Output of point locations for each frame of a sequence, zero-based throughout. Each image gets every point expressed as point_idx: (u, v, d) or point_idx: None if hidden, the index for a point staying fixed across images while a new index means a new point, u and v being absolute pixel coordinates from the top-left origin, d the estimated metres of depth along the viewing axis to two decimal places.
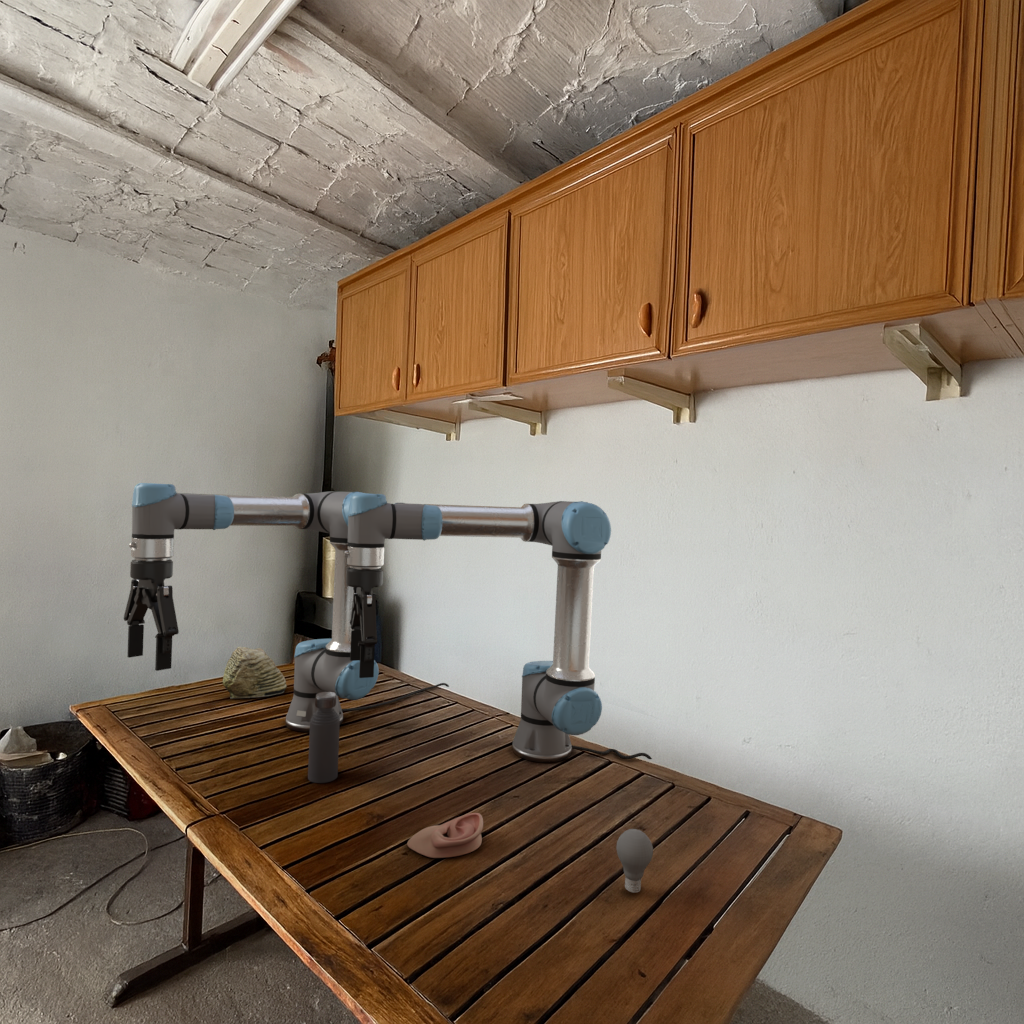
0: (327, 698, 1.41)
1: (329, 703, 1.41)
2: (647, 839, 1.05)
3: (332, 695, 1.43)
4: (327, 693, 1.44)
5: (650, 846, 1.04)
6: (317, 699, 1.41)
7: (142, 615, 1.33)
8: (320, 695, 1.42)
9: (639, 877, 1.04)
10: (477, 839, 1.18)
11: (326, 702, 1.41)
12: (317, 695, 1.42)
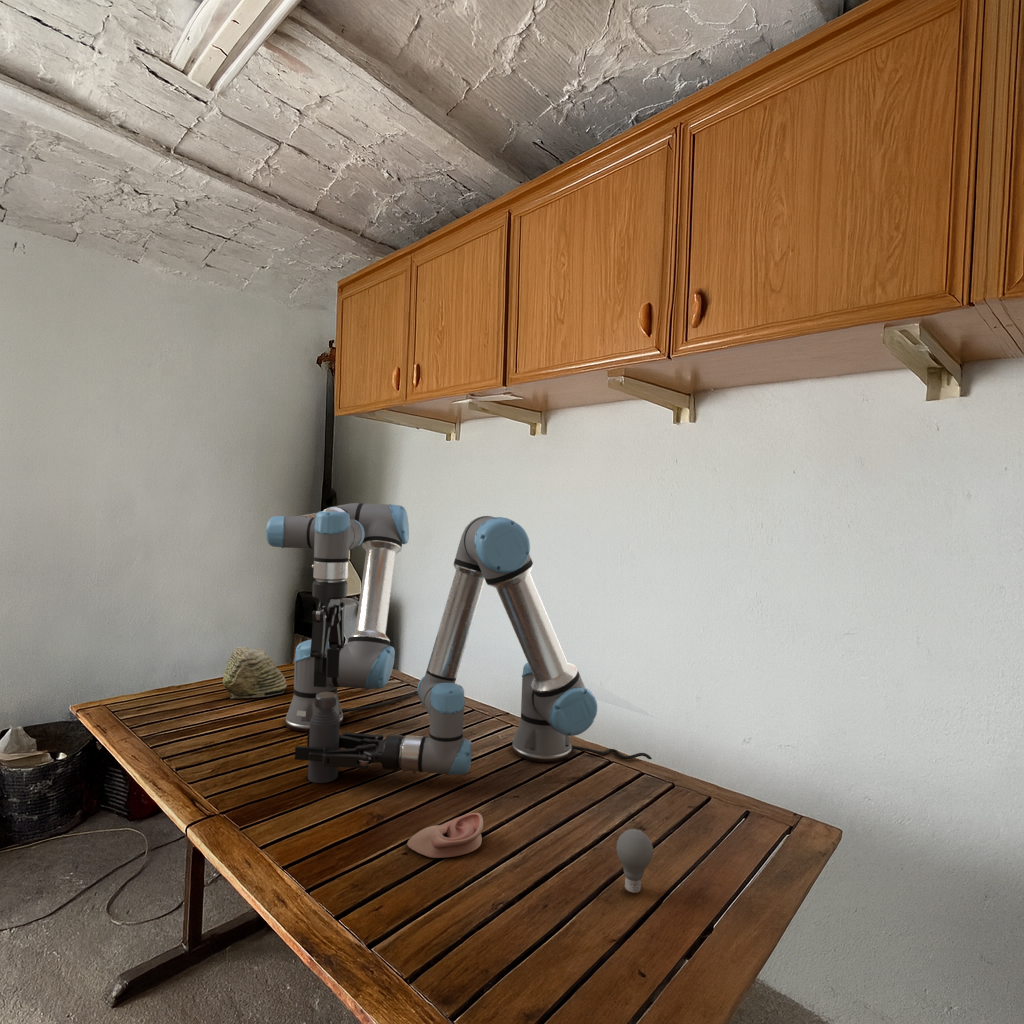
0: (327, 698, 1.41)
1: (329, 703, 1.41)
2: (647, 839, 1.05)
3: (332, 695, 1.43)
4: (327, 693, 1.44)
5: (650, 846, 1.04)
6: (317, 699, 1.41)
7: (336, 637, 1.46)
8: (320, 695, 1.42)
9: (639, 877, 1.04)
10: (477, 839, 1.18)
11: (326, 702, 1.41)
12: (317, 695, 1.42)
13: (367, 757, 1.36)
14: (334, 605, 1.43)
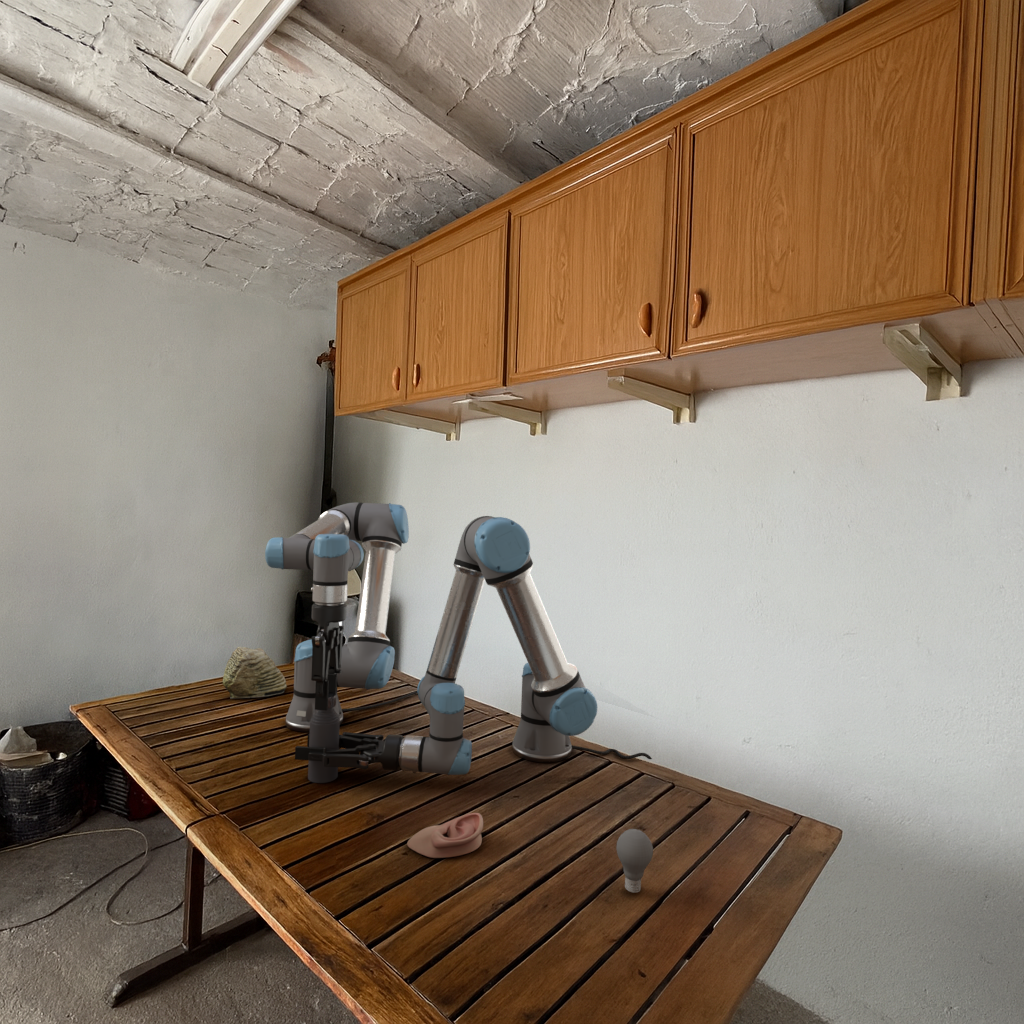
0: None
1: (329, 703, 1.41)
2: (647, 839, 1.05)
3: (332, 695, 1.43)
4: None
5: (650, 846, 1.04)
6: None
7: (333, 661, 1.45)
8: None
9: (639, 877, 1.04)
10: (477, 839, 1.18)
11: None
12: None
13: (367, 757, 1.36)
14: (333, 628, 1.43)
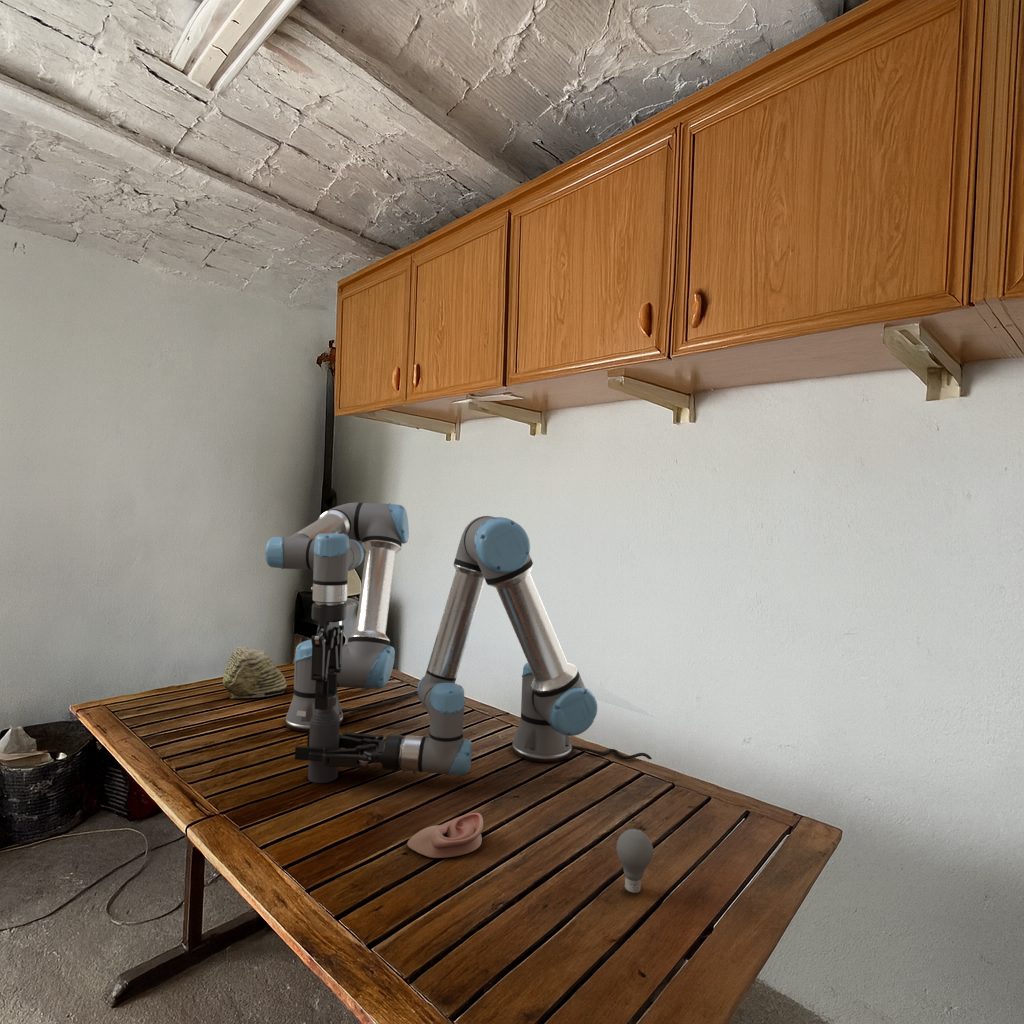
0: None
1: None
2: (647, 839, 1.05)
3: None
4: None
5: (650, 846, 1.04)
6: (335, 697, 1.43)
7: (334, 661, 1.45)
8: (330, 695, 1.42)
9: (639, 877, 1.04)
10: (477, 839, 1.18)
11: None
12: (331, 695, 1.42)
13: (367, 757, 1.36)
14: (333, 627, 1.43)
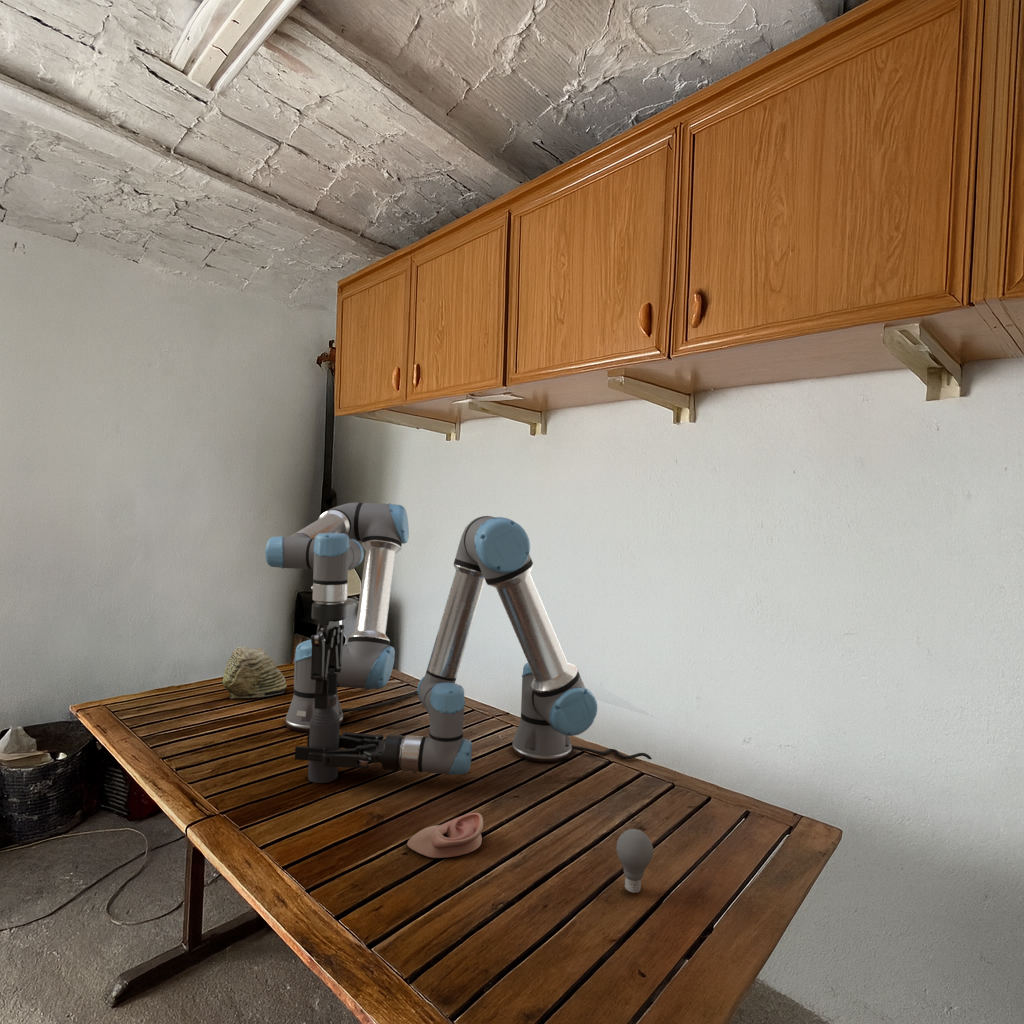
0: None
1: None
2: (647, 839, 1.05)
3: None
4: None
5: (650, 846, 1.04)
6: None
7: (334, 660, 1.45)
8: None
9: (639, 877, 1.04)
10: (477, 839, 1.18)
11: None
12: None
13: (367, 757, 1.36)
14: (333, 627, 1.43)
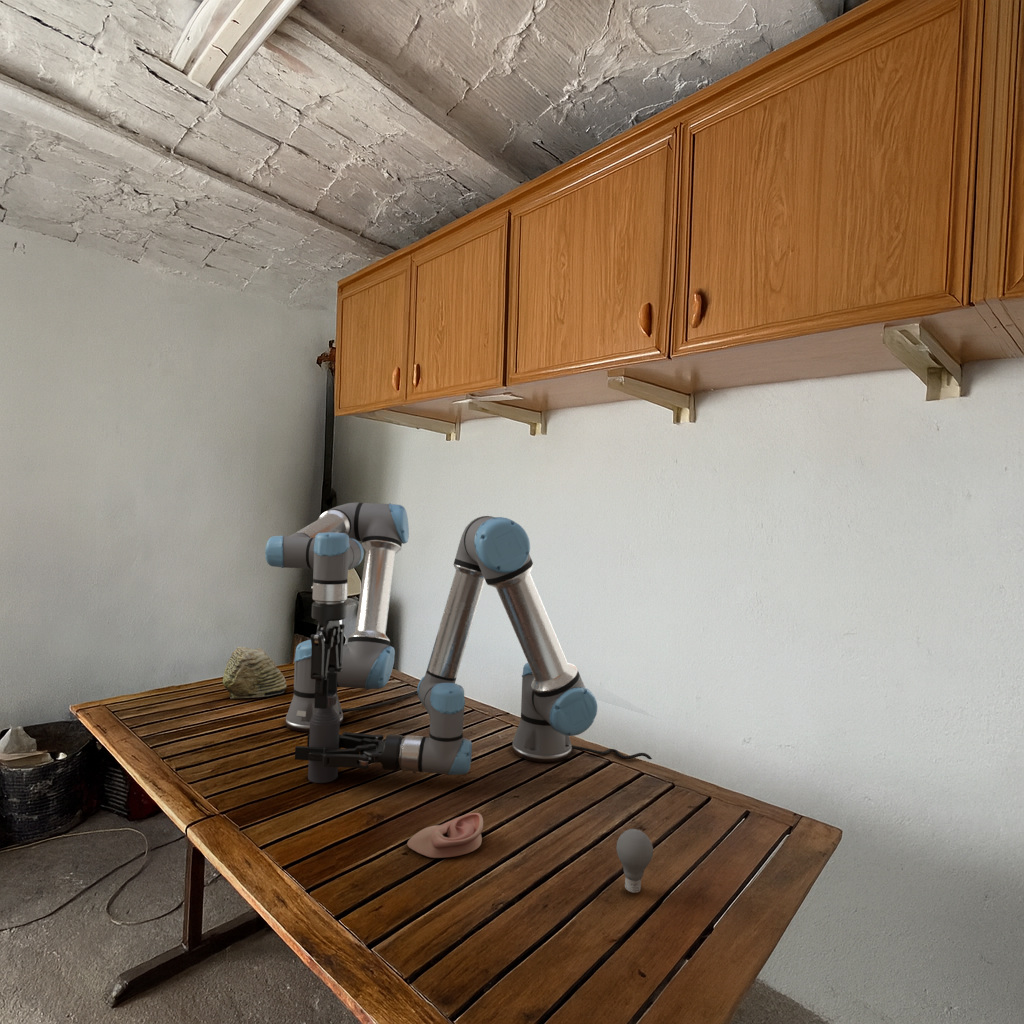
0: (330, 696, 1.41)
1: (331, 701, 1.42)
2: (647, 839, 1.05)
3: (333, 693, 1.43)
4: None
5: (650, 846, 1.04)
6: None
7: (334, 660, 1.45)
8: None
9: (639, 877, 1.04)
10: (477, 839, 1.18)
11: (329, 700, 1.41)
12: None
13: (367, 757, 1.36)
14: (333, 626, 1.43)
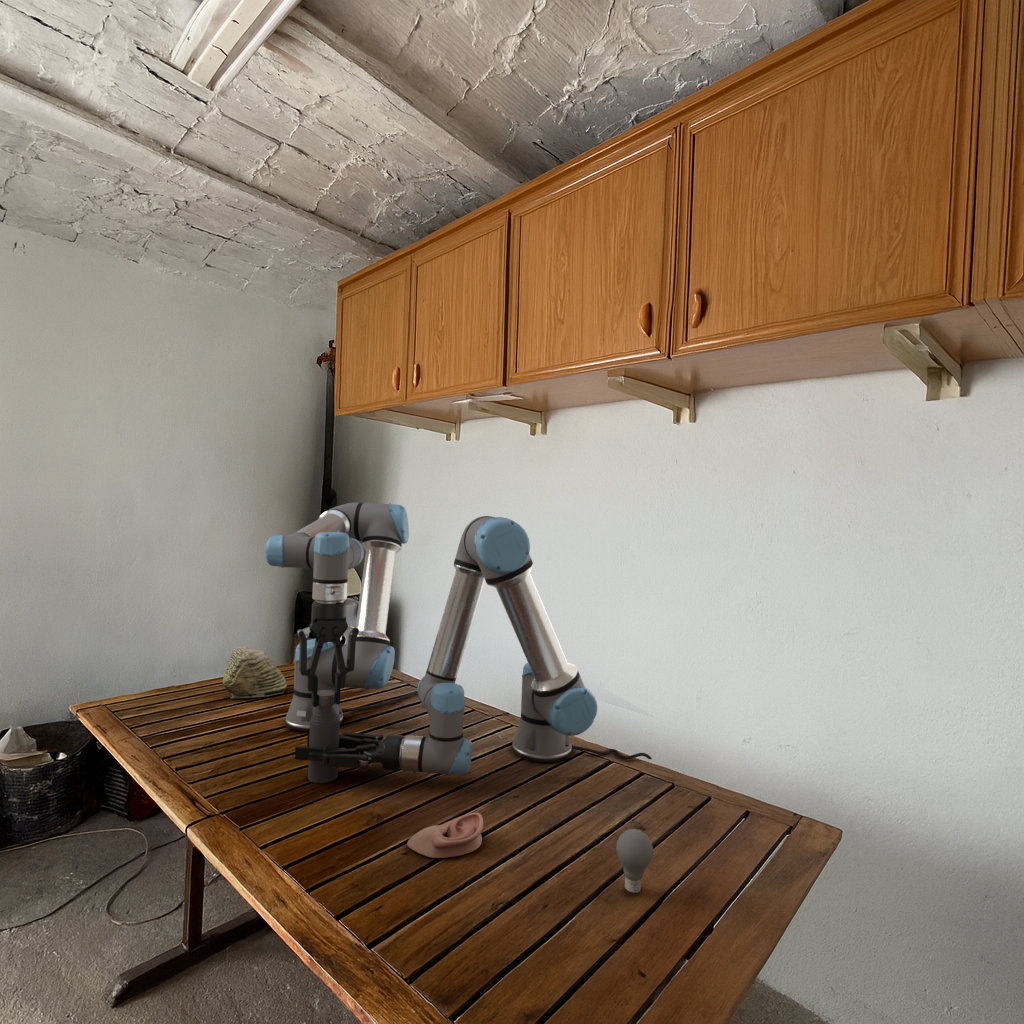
0: None
1: None
2: (647, 839, 1.05)
3: (323, 691, 1.44)
4: (322, 693, 1.43)
5: (650, 846, 1.04)
6: (335, 695, 1.43)
7: None
8: (331, 693, 1.43)
9: (639, 877, 1.04)
10: (477, 839, 1.18)
11: None
12: (333, 693, 1.42)
13: (367, 757, 1.36)
14: None
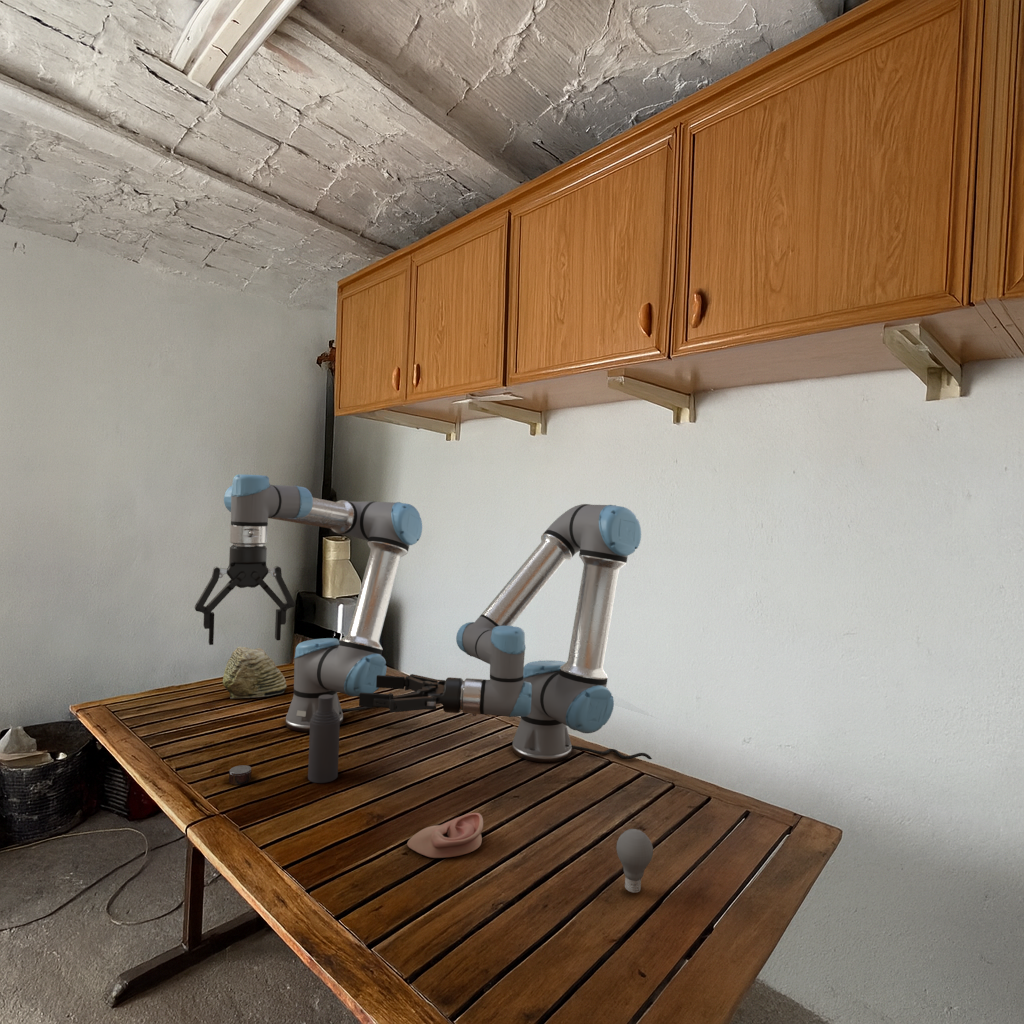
0: None
1: None
2: (647, 839, 1.05)
3: (237, 767, 1.41)
4: (236, 769, 1.39)
5: (650, 846, 1.04)
6: (250, 771, 1.40)
7: None
8: (245, 769, 1.40)
9: (639, 877, 1.04)
10: (477, 839, 1.18)
11: None
12: (247, 770, 1.39)
13: (435, 697, 1.35)
14: None
